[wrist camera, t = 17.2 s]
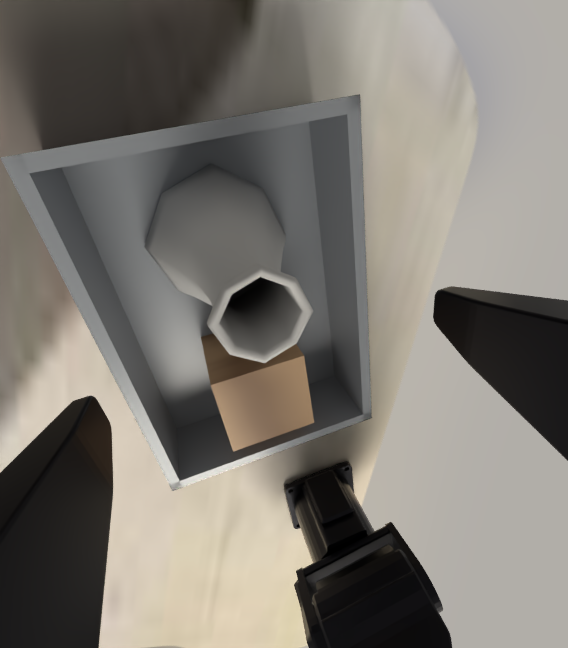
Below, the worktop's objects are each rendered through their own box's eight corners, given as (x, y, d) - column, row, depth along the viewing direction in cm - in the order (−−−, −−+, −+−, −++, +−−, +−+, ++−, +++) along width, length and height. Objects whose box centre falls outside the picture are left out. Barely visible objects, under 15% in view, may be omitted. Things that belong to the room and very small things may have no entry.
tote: (339, 374, 27) (371, 417, 23) (170, 431, 25) (172, 490, 21) (313, 104, 18) (359, 94, 14) (42, 151, 16) (0, 157, 12)
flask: (118, 247, 18) (81, 345, 10) (208, 133, 17) (255, 131, 8) (225, 321, 22) (267, 438, 13) (305, 232, 21) (405, 297, 12)
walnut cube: (277, 314, 23) (303, 355, 18) (288, 374, 25) (314, 422, 21) (200, 337, 22) (210, 385, 18) (220, 397, 24) (233, 451, 20)
